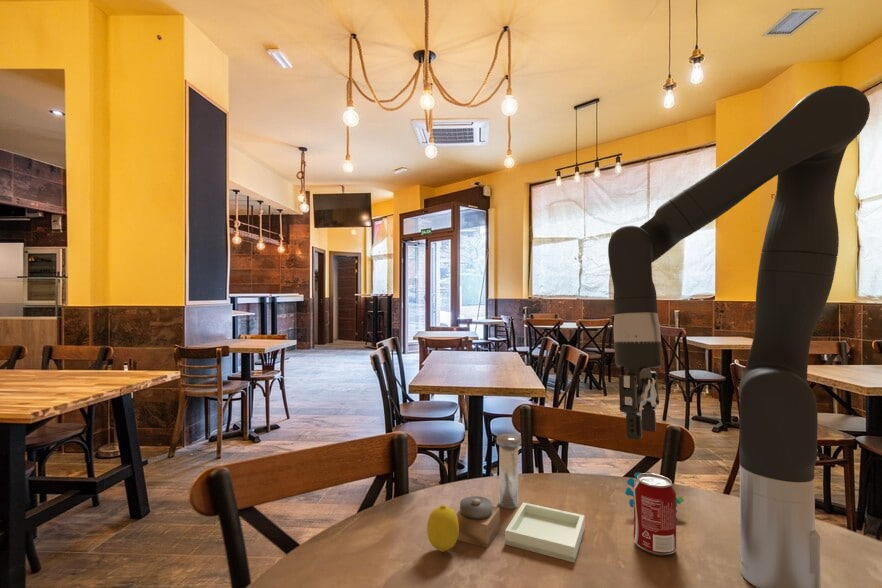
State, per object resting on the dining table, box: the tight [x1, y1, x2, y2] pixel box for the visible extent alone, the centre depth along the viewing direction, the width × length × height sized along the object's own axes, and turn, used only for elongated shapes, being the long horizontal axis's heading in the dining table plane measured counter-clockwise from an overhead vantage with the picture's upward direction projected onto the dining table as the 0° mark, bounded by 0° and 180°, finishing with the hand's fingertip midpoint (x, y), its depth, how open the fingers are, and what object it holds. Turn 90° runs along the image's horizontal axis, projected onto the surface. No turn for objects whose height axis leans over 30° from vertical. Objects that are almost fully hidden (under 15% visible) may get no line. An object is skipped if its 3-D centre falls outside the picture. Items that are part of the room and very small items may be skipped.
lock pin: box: [496, 433, 522, 510], centre depth 92 cm, size 5×5×14 cm
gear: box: [624, 471, 684, 514], centre depth 89 cm, size 11×6×10 cm
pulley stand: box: [454, 495, 501, 549], centre depth 80 cm, size 7×7×6 cm
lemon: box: [426, 504, 459, 553], centre depth 75 cm, size 6×6×8 cm
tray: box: [504, 502, 586, 563], centre depth 80 cm, size 12×12×2 cm
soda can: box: [633, 472, 677, 557], centre depth 76 cm, size 7×7×12 cm
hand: (642, 434), depth 74 cm, fingers open, 8 cm apart
